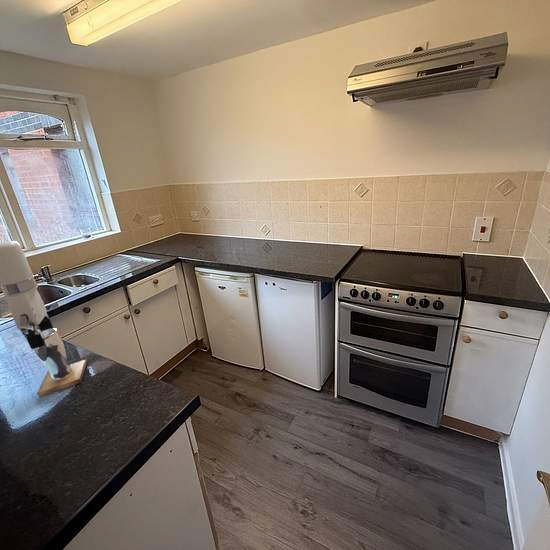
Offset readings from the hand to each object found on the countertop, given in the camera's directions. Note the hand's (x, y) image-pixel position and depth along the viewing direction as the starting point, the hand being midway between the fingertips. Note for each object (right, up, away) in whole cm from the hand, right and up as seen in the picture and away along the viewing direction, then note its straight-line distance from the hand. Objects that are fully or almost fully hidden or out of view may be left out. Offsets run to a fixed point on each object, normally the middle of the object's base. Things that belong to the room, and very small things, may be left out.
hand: (43, 338), depth 89 cm
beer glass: (+2, -13, +5) cm, 14 cm away
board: (+2, -14, +6) cm, 15 cm away
